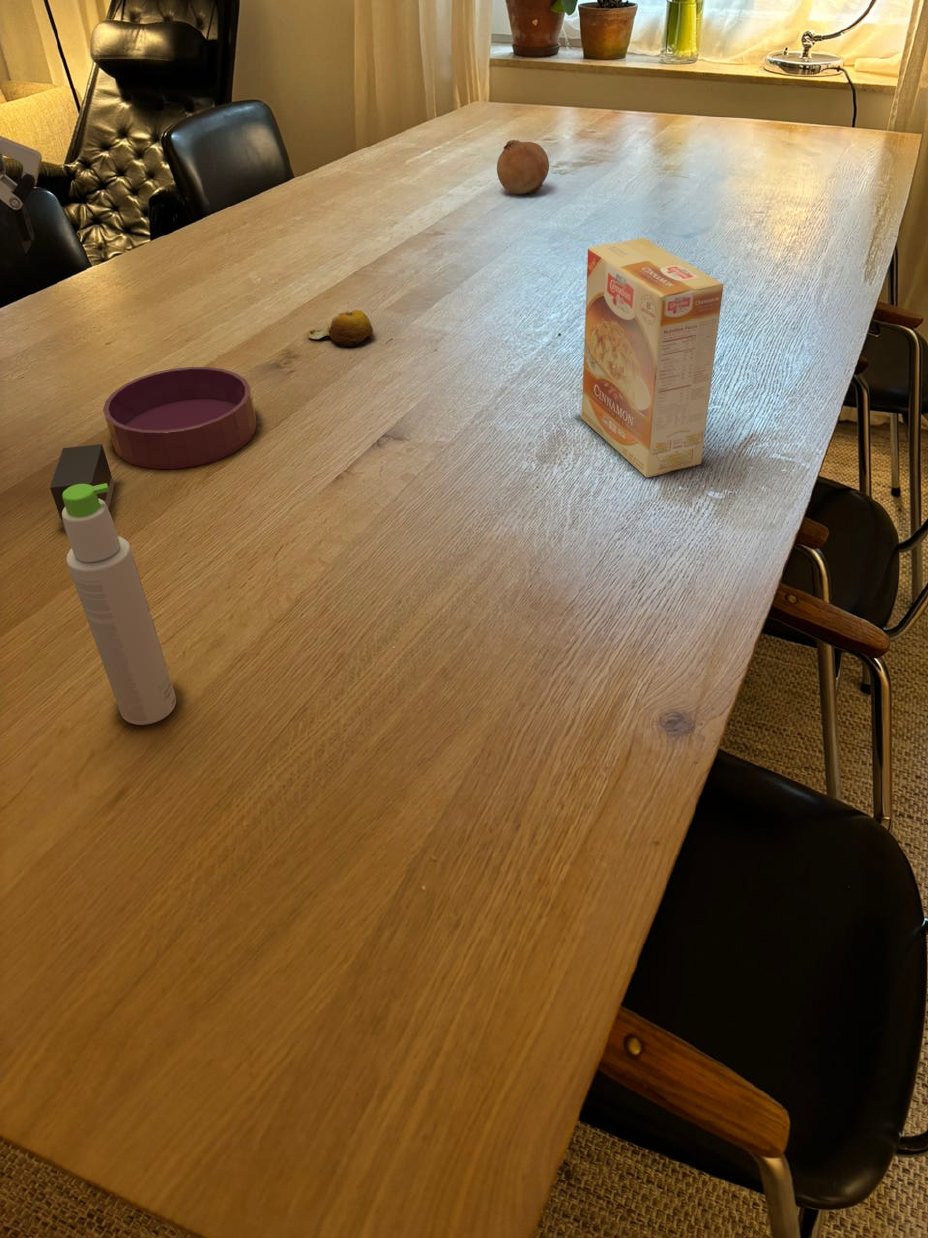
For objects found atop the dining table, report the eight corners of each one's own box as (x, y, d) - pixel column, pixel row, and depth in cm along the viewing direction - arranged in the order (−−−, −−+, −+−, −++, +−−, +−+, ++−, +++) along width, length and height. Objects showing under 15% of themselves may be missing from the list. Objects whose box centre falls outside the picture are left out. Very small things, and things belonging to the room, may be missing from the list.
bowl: (105, 476, 108) (94, 439, 105) (122, 408, 120) (112, 374, 117) (256, 460, 109) (248, 423, 106) (257, 395, 122) (251, 360, 119)
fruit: (353, 319, 139) (350, 293, 136) (389, 336, 134) (387, 309, 131) (304, 337, 135) (300, 310, 132) (339, 355, 130) (336, 328, 127)
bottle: (172, 723, 77) (104, 506, 65) (115, 728, 77) (36, 511, 65) (180, 685, 81) (117, 472, 68) (126, 689, 81) (52, 476, 68)
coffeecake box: (578, 418, 114) (585, 246, 101) (633, 405, 116) (646, 235, 103) (644, 479, 103) (660, 295, 91) (703, 464, 105) (727, 281, 92)
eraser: (64, 530, 100) (49, 487, 96) (76, 489, 106) (62, 447, 103) (105, 525, 100) (91, 482, 97) (114, 485, 106) (102, 443, 103)
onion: (502, 210, 184) (477, 158, 180) (536, 184, 187) (512, 133, 183) (533, 201, 177) (507, 147, 172) (568, 175, 180) (544, 120, 175)
